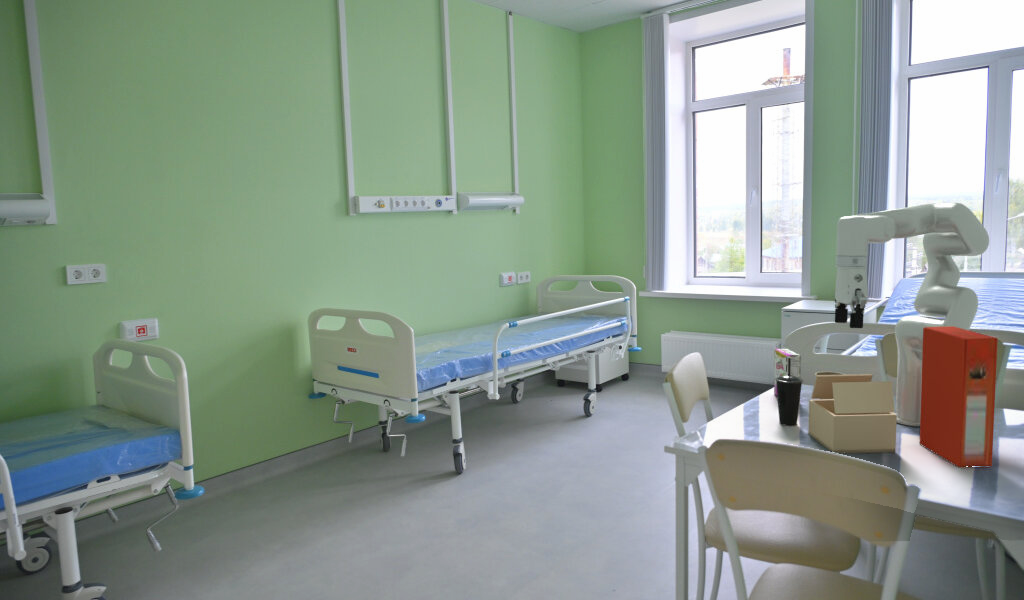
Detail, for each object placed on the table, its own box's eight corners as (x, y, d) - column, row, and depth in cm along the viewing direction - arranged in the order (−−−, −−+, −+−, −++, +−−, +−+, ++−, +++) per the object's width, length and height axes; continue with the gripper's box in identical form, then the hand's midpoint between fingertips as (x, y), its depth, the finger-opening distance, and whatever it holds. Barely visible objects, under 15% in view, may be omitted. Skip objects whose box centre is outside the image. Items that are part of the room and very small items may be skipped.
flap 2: (890, 381, 176) (891, 381, 175) (893, 412, 174) (894, 412, 174) (832, 382, 176) (833, 382, 176) (834, 413, 175) (835, 413, 174)
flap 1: (865, 397, 189) (865, 396, 189) (872, 375, 185) (871, 373, 185) (811, 398, 190) (811, 397, 190) (817, 376, 185) (816, 375, 186)
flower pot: (810, 396, 231) (811, 371, 230) (839, 396, 229) (840, 371, 228) (819, 403, 221) (820, 377, 220) (849, 403, 220) (850, 377, 219)
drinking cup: (804, 427, 197) (806, 361, 195) (777, 426, 198) (778, 360, 196) (799, 420, 204) (800, 355, 202) (772, 419, 206) (773, 355, 204)
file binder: (957, 467, 163) (963, 338, 159) (918, 444, 180) (923, 326, 176) (991, 467, 163) (999, 337, 159) (949, 443, 180) (954, 326, 176)
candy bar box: (772, 394, 234) (773, 348, 232) (787, 394, 233) (788, 348, 232) (785, 403, 222) (786, 355, 220) (800, 403, 222) (801, 354, 220)
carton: (865, 432, 191) (866, 398, 190) (895, 452, 175) (896, 414, 174) (808, 433, 191) (809, 399, 190) (833, 453, 176) (834, 416, 174)
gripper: (880, 264, 172) (877, 330, 174) (851, 260, 189) (849, 321, 191) (850, 264, 172) (847, 330, 174) (824, 261, 189) (821, 320, 191)
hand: (848, 325), depth 182 cm, fingers open, 9 cm apart
